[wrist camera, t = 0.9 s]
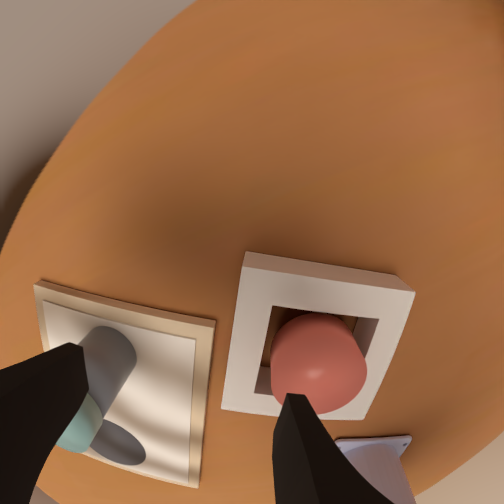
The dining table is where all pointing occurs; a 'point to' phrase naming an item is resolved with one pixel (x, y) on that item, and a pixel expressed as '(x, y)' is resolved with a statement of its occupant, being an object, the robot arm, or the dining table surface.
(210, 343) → the board
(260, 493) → the dining table surface
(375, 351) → the button housing
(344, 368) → the button cap
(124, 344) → the grey teal cylinder
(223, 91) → the dining table surface
